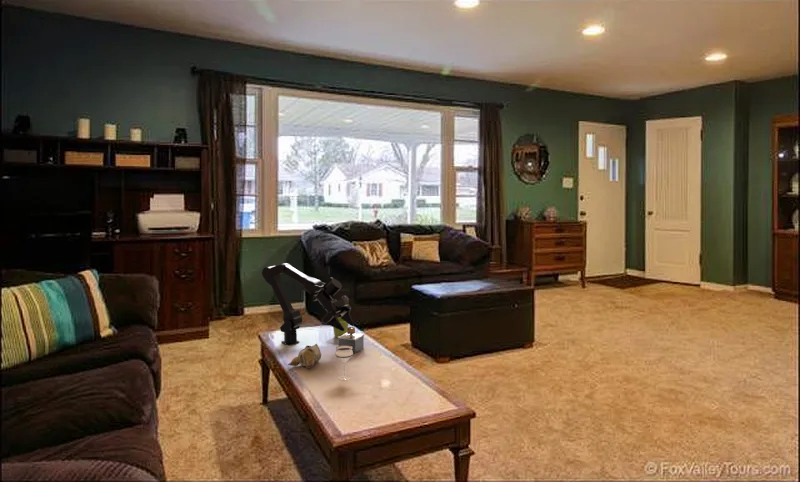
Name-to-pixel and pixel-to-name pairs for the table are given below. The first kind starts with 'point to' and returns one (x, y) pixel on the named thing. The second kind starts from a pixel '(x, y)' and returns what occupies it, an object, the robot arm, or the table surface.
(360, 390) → the table surface
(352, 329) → the bronze domed cylinder
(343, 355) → the wineglass
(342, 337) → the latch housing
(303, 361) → the ceramic sculpture
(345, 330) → the plant pot
